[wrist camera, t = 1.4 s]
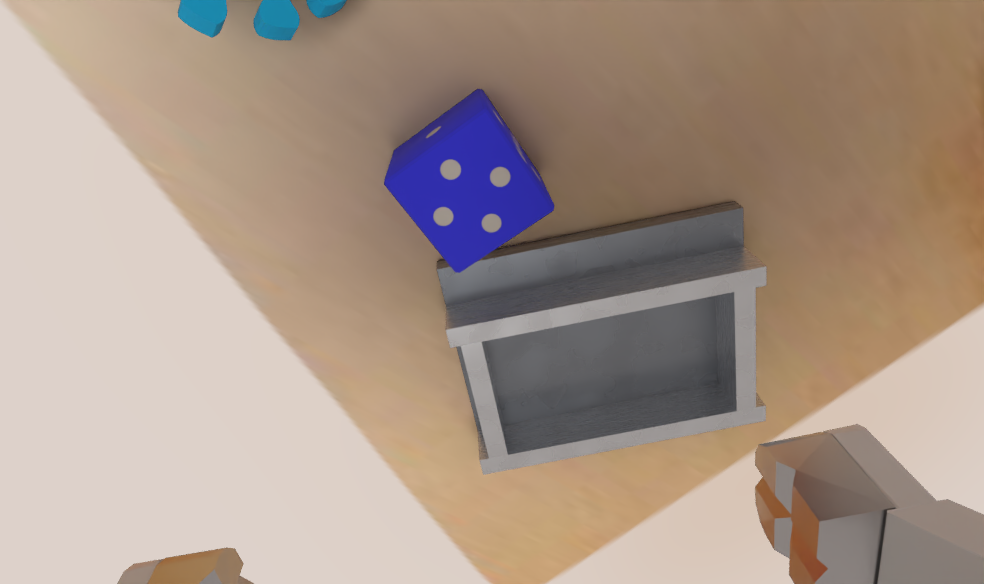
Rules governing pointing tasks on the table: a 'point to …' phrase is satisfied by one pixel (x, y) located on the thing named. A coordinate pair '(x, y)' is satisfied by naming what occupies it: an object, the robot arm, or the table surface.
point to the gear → (271, 21)
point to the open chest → (608, 337)
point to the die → (467, 182)
